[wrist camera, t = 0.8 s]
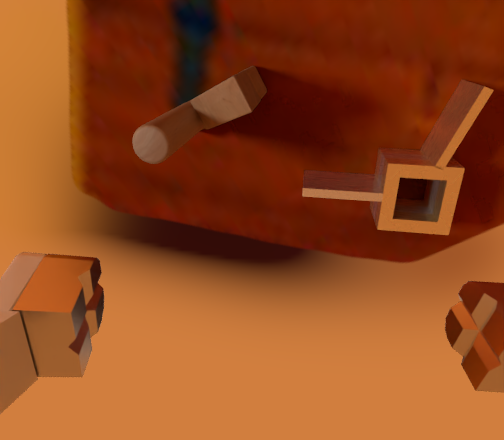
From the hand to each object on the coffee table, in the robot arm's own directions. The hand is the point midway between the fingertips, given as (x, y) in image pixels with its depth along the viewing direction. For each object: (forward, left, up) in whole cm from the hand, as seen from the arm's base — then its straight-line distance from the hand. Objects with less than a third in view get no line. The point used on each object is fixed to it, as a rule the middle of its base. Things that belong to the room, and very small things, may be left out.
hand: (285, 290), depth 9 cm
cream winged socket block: (+2, +12, -45) cm, 46 cm away
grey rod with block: (+7, -8, -45) cm, 46 cm away
